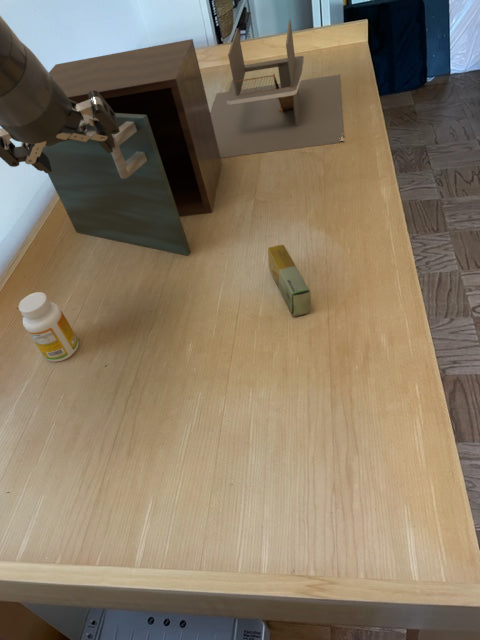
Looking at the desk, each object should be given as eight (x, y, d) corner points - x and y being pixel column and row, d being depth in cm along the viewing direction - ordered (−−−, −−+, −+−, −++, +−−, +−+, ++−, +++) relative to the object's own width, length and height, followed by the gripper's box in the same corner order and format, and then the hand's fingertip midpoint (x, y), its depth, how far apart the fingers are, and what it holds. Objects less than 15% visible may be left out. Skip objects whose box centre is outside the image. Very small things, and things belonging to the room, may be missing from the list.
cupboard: (212, 213, 98) (175, 78, 81) (79, 229, 103) (19, 105, 86) (222, 164, 111) (192, 38, 94) (103, 180, 116) (55, 64, 99)
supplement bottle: (65, 331, 82) (37, 283, 76) (86, 343, 79) (59, 295, 73) (37, 354, 80) (5, 307, 73) (58, 368, 77) (26, 320, 70)
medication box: (311, 313, 75) (311, 291, 72) (292, 318, 74) (292, 296, 72) (284, 263, 83) (283, 242, 81) (267, 267, 83) (266, 246, 80)
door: (170, 275, 87) (119, 136, 70) (57, 248, 99) (-8, 125, 83) (191, 252, 90) (146, 114, 74) (79, 229, 103) (20, 107, 86)
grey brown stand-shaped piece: (339, 74, 132) (335, -3, 120) (344, 141, 107) (339, 54, 96) (216, 93, 138) (201, 22, 127) (194, 161, 114) (172, 81, 102)
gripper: (72, 35, 54) (122, 114, 70) (-57, 78, 55) (21, 147, 71) (90, 101, 53) (136, 166, 69) (-43, 144, 54) (34, 198, 70)
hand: (78, 156), depth 70 cm, fingers open, 8 cm apart
